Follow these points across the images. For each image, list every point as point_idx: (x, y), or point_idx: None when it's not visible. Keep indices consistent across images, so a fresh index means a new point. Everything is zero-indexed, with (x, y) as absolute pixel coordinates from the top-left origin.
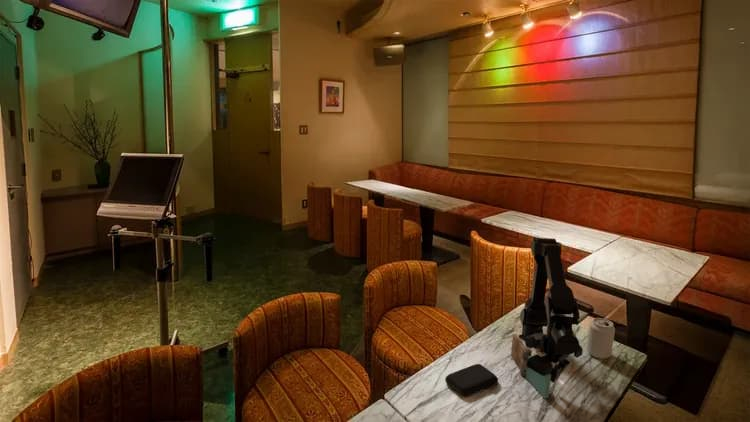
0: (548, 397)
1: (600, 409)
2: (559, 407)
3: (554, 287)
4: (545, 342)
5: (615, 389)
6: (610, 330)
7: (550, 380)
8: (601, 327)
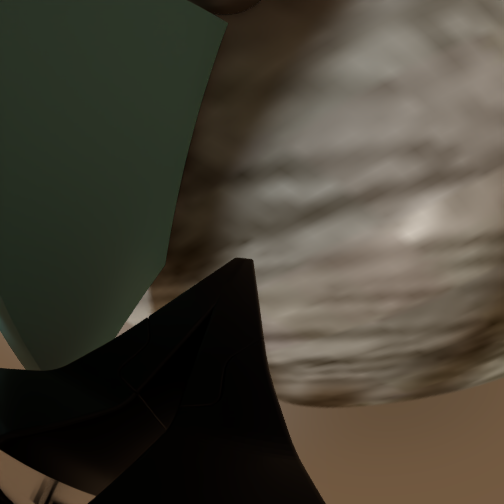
0: (163, 266)
1: (321, 399)
2: None
3: None
4: None
5: (483, 377)
6: None
7: (232, 261)
8: None
